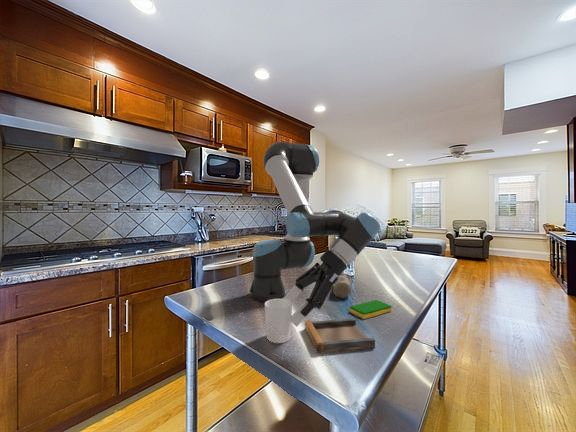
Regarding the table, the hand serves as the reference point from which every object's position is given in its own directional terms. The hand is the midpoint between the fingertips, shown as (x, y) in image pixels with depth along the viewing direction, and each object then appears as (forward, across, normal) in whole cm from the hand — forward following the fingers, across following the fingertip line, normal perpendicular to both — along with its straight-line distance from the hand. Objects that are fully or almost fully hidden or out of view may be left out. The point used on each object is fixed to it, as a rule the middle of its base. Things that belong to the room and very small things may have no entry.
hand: (287, 312), depth 73 cm
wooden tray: (-4, -2, -16) cm, 16 cm away
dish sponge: (-17, +14, -29) cm, 37 cm away
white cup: (+7, +2, -4) cm, 8 cm away
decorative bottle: (-18, +39, -30) cm, 52 cm away
